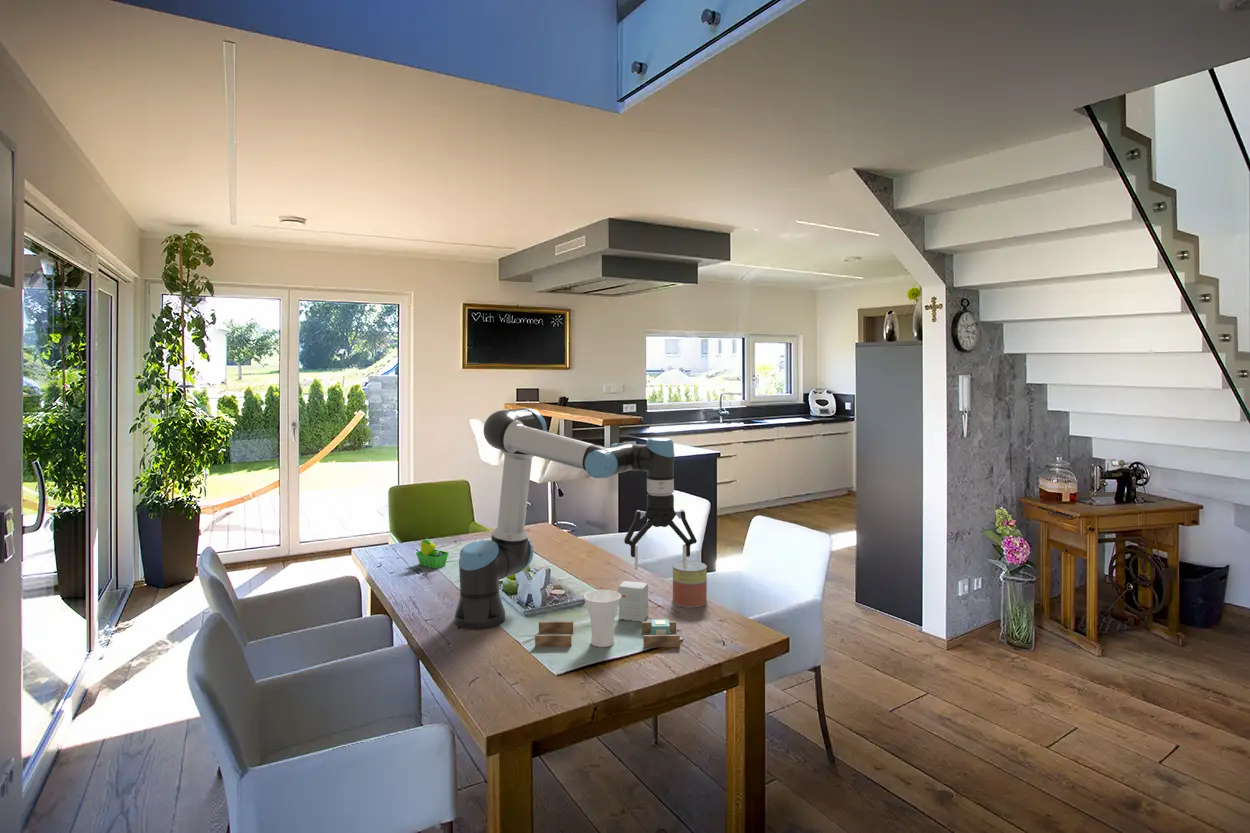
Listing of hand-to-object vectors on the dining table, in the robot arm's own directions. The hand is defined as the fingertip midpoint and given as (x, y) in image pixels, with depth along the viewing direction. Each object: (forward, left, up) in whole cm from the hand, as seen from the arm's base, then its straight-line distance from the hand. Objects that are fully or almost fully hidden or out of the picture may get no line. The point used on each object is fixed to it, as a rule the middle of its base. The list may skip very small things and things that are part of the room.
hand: (660, 568), depth 191 cm
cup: (-16, -2, -21) cm, 27 cm away
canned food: (+12, +31, -21) cm, 39 cm away
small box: (-7, +17, -21) cm, 28 cm away
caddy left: (-30, +1, -21) cm, 36 cm away
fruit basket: (-84, +74, -21) cm, 114 cm away
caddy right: (0, 0, -21) cm, 21 cm away
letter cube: (0, 0, -21) cm, 21 cm away
